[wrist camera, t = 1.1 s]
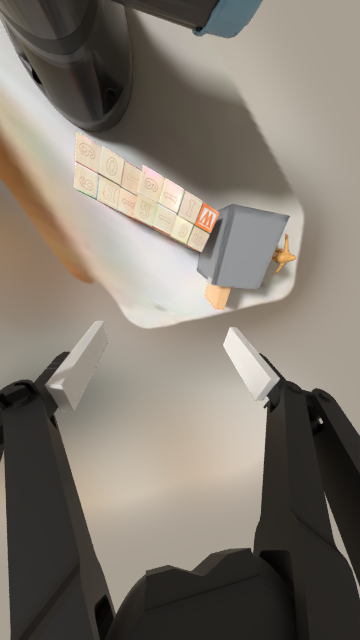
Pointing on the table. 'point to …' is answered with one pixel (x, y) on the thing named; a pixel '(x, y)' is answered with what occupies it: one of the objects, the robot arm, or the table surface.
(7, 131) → the table surface
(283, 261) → the figurine
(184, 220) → the stack of blocks
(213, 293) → the light orange rectangular block
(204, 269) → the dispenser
